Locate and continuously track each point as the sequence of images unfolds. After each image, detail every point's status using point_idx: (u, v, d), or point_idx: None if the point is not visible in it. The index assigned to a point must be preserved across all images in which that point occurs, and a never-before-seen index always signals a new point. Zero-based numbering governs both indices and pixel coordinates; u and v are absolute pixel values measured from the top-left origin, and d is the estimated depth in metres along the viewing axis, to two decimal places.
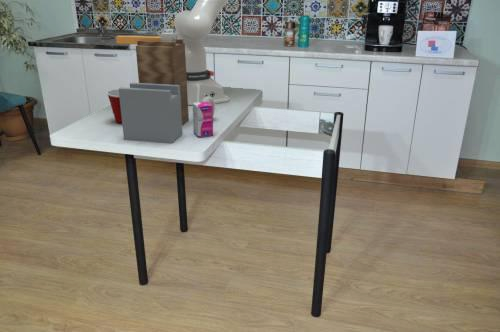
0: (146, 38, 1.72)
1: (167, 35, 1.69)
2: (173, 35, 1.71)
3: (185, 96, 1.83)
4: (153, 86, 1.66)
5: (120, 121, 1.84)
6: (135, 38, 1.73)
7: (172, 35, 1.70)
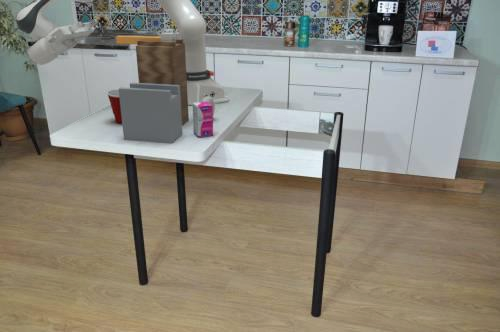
0: (146, 38, 1.72)
1: (167, 35, 1.69)
2: (173, 35, 1.71)
3: (185, 96, 1.83)
4: (153, 86, 1.66)
5: (120, 121, 1.84)
6: (135, 38, 1.73)
7: (172, 35, 1.70)
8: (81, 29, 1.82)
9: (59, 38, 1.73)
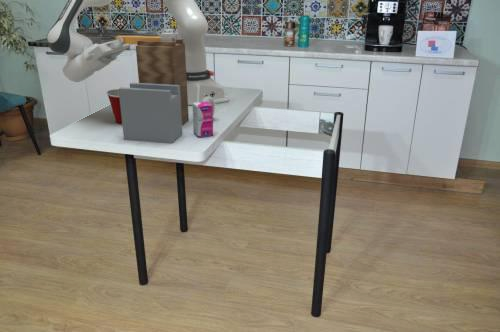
0: (146, 38, 1.72)
1: (167, 35, 1.69)
2: (173, 35, 1.71)
3: (185, 96, 1.83)
4: (153, 86, 1.66)
5: (120, 121, 1.84)
6: (135, 38, 1.73)
7: (172, 35, 1.70)
8: (117, 45, 1.79)
9: (97, 56, 1.70)
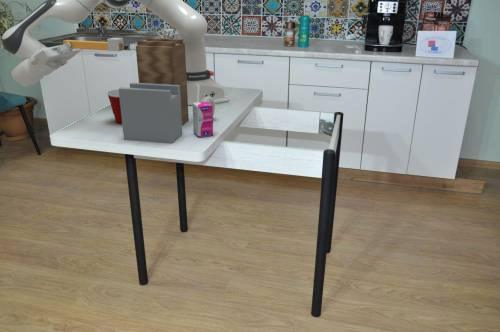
0: (93, 43, 1.68)
1: (114, 40, 1.65)
2: (121, 41, 1.67)
3: (185, 96, 1.83)
4: (153, 86, 1.66)
5: (120, 121, 1.84)
6: (82, 43, 1.69)
7: (119, 41, 1.66)
8: (66, 50, 1.75)
9: (42, 60, 1.66)
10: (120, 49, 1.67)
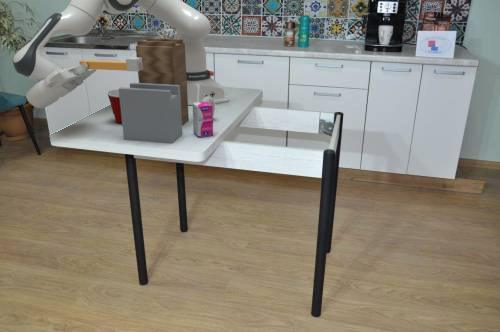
0: (111, 63, 1.62)
1: (133, 60, 1.59)
2: (139, 60, 1.61)
3: (185, 96, 1.83)
4: (153, 86, 1.66)
5: (120, 121, 1.84)
6: (100, 63, 1.63)
7: (138, 60, 1.60)
8: (82, 70, 1.69)
9: (59, 83, 1.59)
10: (139, 69, 1.61)
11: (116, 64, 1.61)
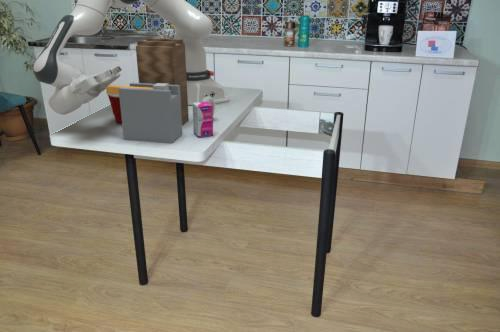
0: None
1: (160, 87, 1.60)
2: (166, 86, 1.62)
3: (185, 96, 1.83)
4: None
5: (120, 121, 1.84)
6: None
7: (165, 87, 1.61)
8: (107, 77, 1.67)
9: (84, 89, 1.58)
10: None
11: None
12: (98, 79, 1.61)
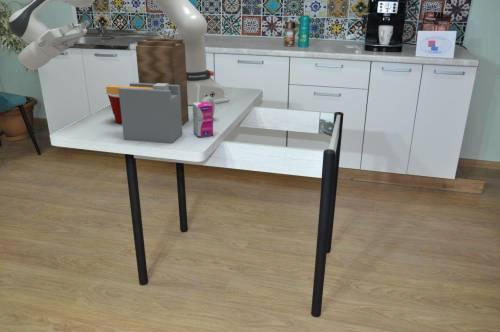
0: None
1: (160, 87, 1.60)
2: (166, 86, 1.62)
3: (185, 96, 1.83)
4: None
5: (120, 121, 1.84)
6: None
7: (165, 87, 1.61)
8: (73, 31, 1.73)
9: (49, 41, 1.64)
10: None
11: None
12: None
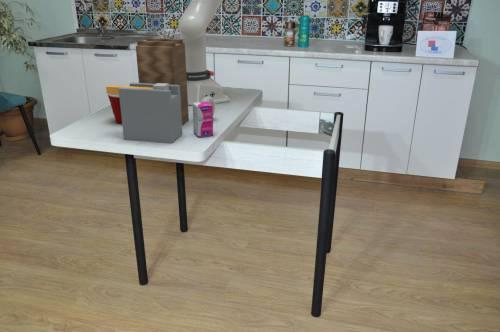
0: None
1: (160, 87, 1.60)
2: (166, 86, 1.62)
3: (185, 96, 1.83)
4: None
5: (120, 121, 1.84)
6: None
7: (165, 87, 1.61)
8: None
9: None
10: None
11: None
12: None
